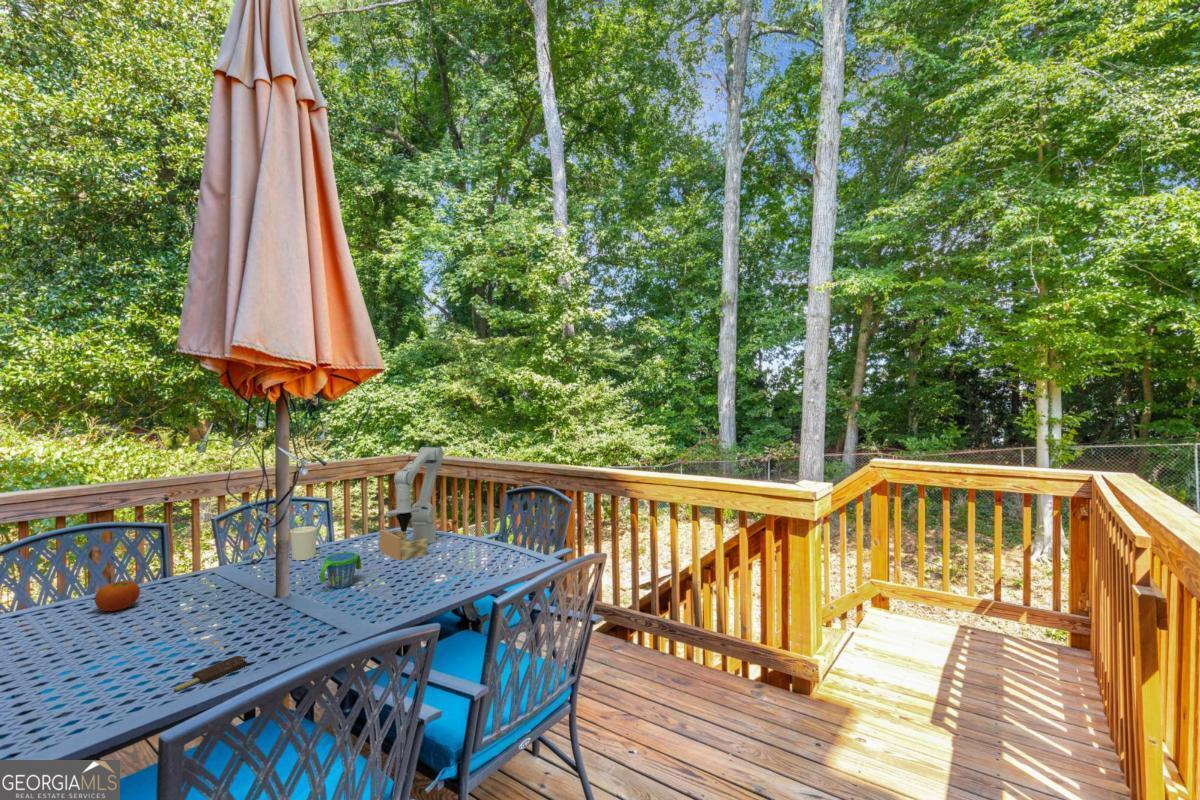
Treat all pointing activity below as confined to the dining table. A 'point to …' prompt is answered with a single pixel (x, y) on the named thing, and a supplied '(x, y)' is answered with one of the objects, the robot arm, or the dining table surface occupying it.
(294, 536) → the candle holder
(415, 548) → the cart bed
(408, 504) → the robot arm
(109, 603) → the fruit
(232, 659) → the ice cream bar
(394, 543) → the tailgate
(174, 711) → the dining table surface
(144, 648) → the dining table surface
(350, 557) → the snack cup
